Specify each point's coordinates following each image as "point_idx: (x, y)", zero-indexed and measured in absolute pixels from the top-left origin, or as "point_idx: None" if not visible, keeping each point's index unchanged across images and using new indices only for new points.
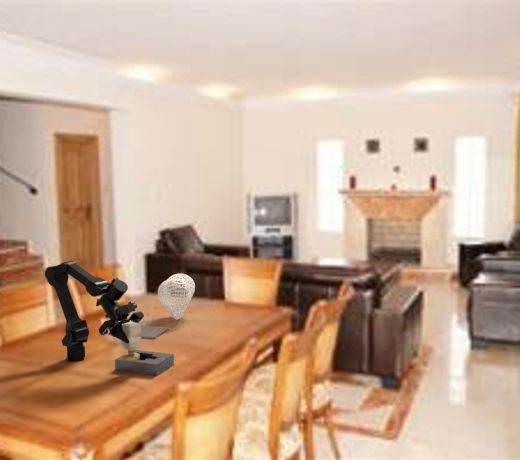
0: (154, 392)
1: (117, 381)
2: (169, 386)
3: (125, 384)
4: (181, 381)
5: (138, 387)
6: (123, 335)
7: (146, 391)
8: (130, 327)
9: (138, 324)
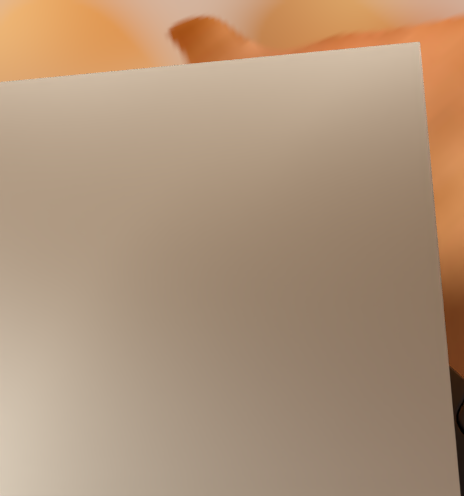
0: (440, 41)
1: (457, 331)
2: (330, 46)
3: (461, 245)
4: (246, 50)
5: (444, 149)
6: (459, 377)
7: (458, 78)
8: (411, 89)
9: (17, 85)
